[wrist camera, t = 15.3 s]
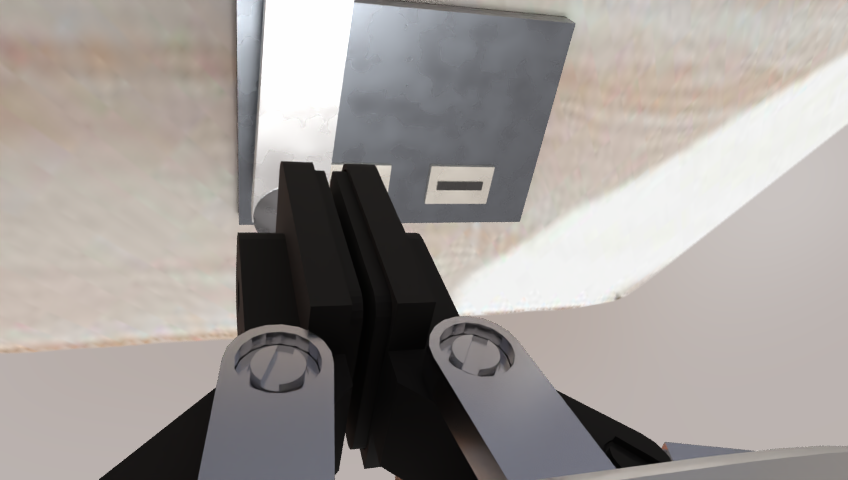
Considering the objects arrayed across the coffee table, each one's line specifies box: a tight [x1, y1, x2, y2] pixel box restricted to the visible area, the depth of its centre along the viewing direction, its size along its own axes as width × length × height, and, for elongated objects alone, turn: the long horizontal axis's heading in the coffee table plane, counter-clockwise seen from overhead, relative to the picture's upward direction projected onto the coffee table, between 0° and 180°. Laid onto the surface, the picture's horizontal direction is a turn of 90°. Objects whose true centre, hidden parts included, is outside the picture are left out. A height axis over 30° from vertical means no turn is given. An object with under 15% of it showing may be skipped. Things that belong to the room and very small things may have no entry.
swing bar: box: [251, 0, 354, 233], centre depth 37 cm, size 21×4×2 cm, turn 168°
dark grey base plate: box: [236, 0, 575, 225], centre depth 43 cm, size 22×16×4 cm
